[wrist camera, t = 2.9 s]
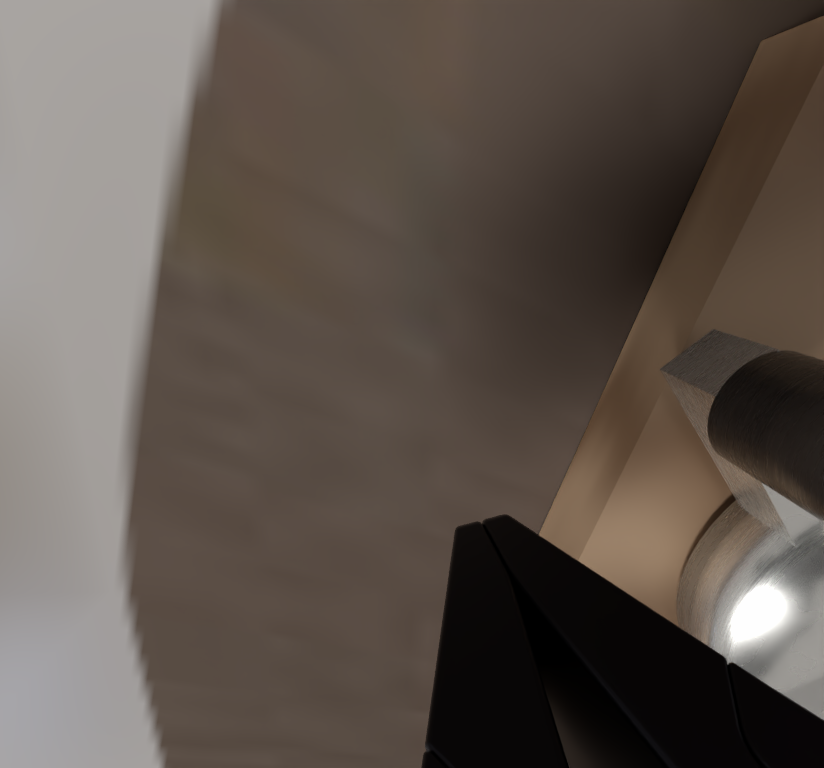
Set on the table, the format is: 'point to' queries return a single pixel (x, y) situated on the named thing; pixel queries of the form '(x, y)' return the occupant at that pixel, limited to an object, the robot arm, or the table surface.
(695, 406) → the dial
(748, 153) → the stand
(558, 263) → the table surface
